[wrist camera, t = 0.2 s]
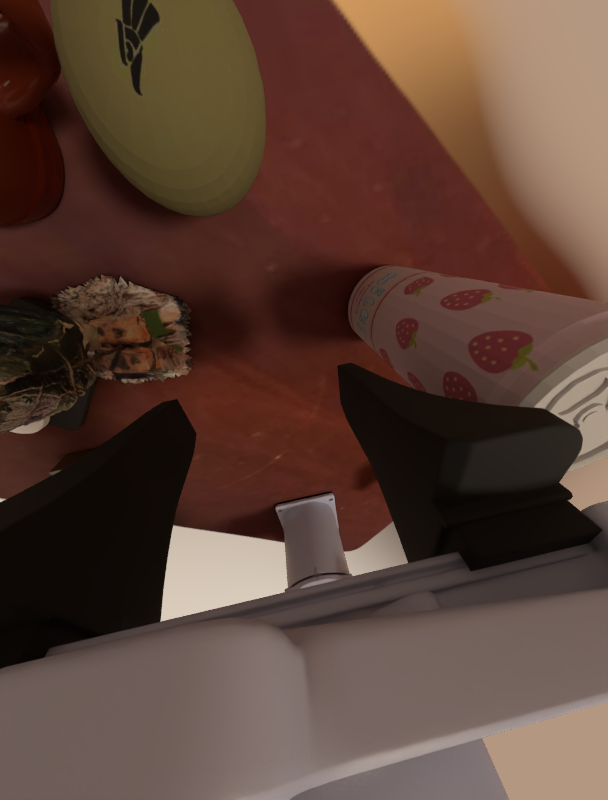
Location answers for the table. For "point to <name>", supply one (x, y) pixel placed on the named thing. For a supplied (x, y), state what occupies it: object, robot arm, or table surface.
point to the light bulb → (167, 95)
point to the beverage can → (491, 344)
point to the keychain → (78, 411)
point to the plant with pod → (87, 346)
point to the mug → (27, 114)
